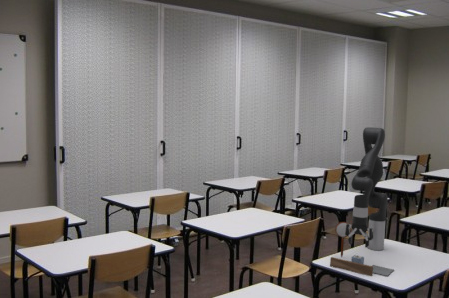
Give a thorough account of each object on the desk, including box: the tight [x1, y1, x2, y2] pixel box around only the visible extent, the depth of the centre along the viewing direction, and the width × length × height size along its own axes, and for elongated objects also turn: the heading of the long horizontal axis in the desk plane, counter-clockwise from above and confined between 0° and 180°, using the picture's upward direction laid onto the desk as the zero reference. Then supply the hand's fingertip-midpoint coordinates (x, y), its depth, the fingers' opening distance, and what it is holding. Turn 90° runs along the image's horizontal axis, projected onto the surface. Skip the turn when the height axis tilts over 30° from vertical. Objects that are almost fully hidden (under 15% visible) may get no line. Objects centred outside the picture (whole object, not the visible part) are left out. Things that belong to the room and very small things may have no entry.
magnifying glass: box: [334, 221, 352, 258], centre depth 271 cm, size 9×2×20 cm, turn 91°
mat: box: [371, 264, 395, 278], centre depth 251 cm, size 11×11×1 cm
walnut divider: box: [329, 256, 374, 277], centre depth 251 cm, size 2×22×4 cm, turn 54°
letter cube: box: [350, 254, 365, 265], centre depth 258 cm, size 5×5×5 cm
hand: (358, 245), depth 257 cm, fingers open, 8 cm apart
